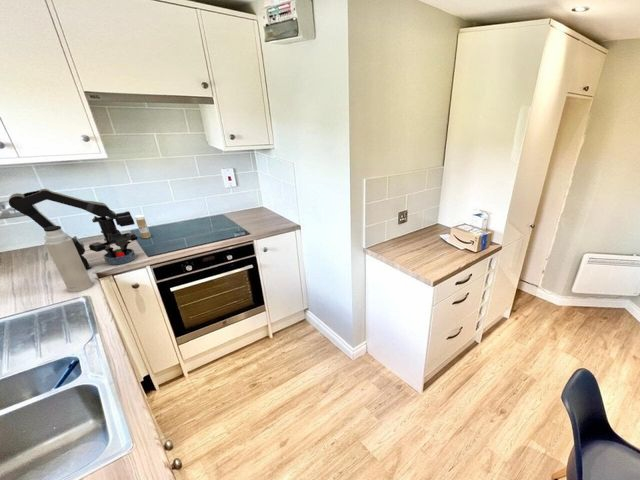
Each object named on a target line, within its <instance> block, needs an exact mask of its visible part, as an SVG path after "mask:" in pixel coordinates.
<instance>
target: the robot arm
mask: <svg viewBox="0 0 640 480" xmlns="http://www.w3.org/2000/svg"><path fill="white" fill-rule="evenodd" d="M43 201H51V202H55V203H59V204H62V205H66V206H70V207H73V208H77V209H81V210H84V211H86V212H88V213H90V214H92V215H94V216H93V217H92V219H91V221H92V223H98V225H99V227H100V233H101V234H102V235H103V237H104V238H103V241H104V242H100V241H97V242H93V243H90V244H89V245H88V248H89V250H90V251H93V252H96V253H99V252H102V251H105V252H106V253H107V252H108V253H109V254H110V255H111V256H112V257H113V258H116V255H115V253H114V251H113V250H114V247H111V246H112V245H115V246H117V247H119V249H121V250H122V252H124V254H125V255H126V251H127V248H128V245H130V244H131V243H132V242H133V241H137V240H139V237H138V235H137V234H135V233H133V232H126V233H121V232H120V230H119V229H117V226H119V227H128V226H133V225H136V223H135V221H134V220H135V219H134V218H133V216H132V214H131V212H130V211H129V210H128V211H123V212H117V213H116V212H115V211H114V210H112V209H111V208H109V206H108V205H107V204H106V203H104V202H99V201H94V200H84V199H80V198H78V197H74V196H71V195H67V194H64V193H61V192H56V191H53V190H50V189H48V188H41V189H39V190H33V191H28V192H24V193H21V192H20V193H17V192H15V193H12V194H11V195H10V196H9V198H8V205H9V206H10V207H11V208H12V209H14V210H15V211H17V212H19V213H20V214H22V215H24V216H27V217H28V218H30V219H31V220H33V222H35V223H36V224H38V225H39V227H41V228H42V229H43V230H44V228H46V227H50V226H57V225H56V224H55V223H54V222H53V221H51V220H50V218H48V217H47V216H46V215H44V214H43V213H42V212H41V211H40V210H39V209H38V207H37V206H36V204H39V203H41V202H43ZM68 237H70V238H71V239H72V241H73V243H74V245H75V247H76V249H77V251H78V254H79V256H80V258H81V260H82V262H83V264H84V267H85V269H86V271H88V270H90V269H92V267H91V266H90V264H89V261H88V259H87V258H86V257H85V256H84V254H85V252H86V249H85V245H84V242H83V241H82V240H80V239H79V238H78V237H77V236H76V235H75V236H70V235H68Z"/></svg>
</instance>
